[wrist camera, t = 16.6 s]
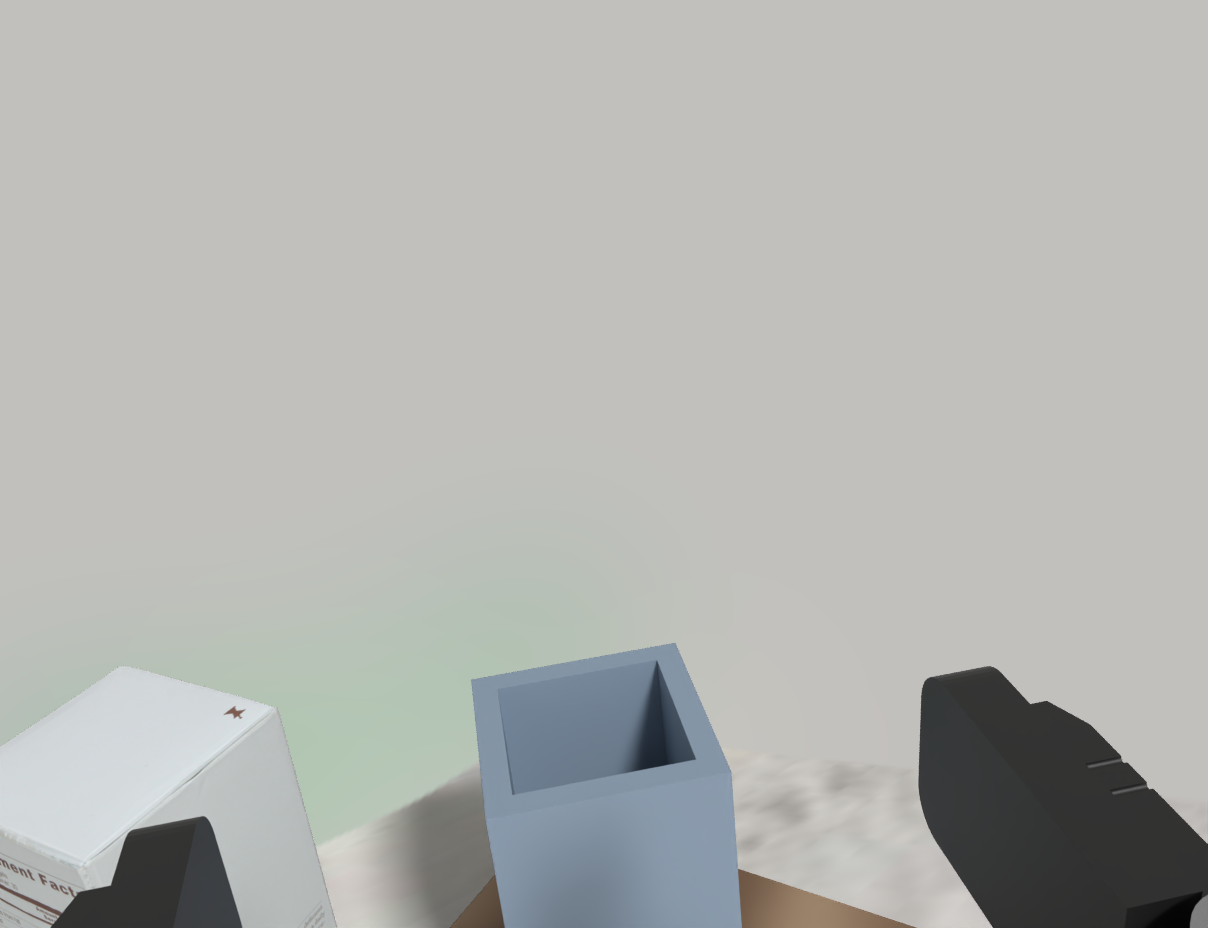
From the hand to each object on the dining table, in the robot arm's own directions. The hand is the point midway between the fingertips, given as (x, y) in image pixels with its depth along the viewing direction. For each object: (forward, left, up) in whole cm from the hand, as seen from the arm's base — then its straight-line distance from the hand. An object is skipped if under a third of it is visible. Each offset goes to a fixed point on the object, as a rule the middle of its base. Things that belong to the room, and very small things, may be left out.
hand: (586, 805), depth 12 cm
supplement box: (-22, +7, -24) cm, 33 cm away
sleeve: (-8, +12, -21) cm, 26 cm away
